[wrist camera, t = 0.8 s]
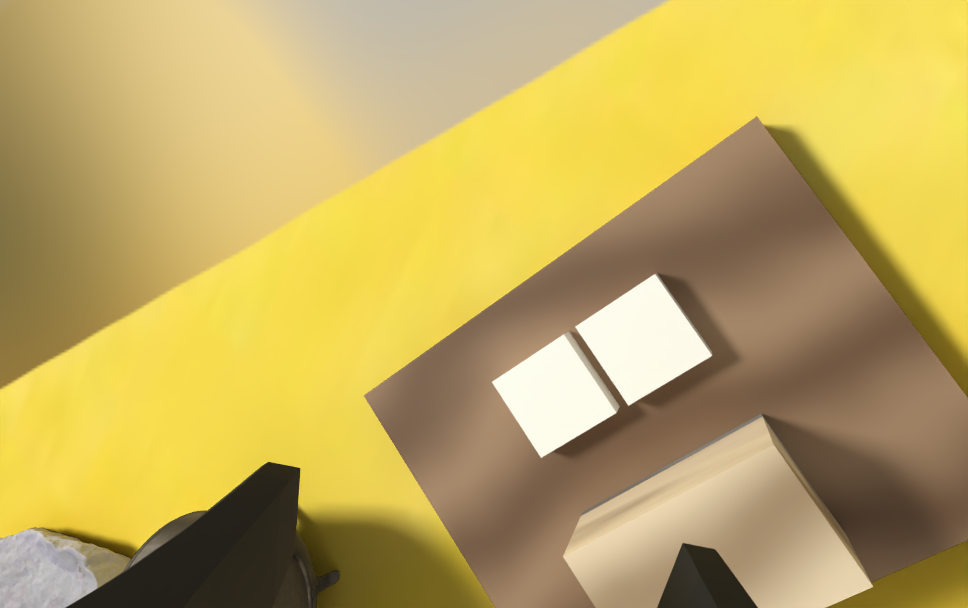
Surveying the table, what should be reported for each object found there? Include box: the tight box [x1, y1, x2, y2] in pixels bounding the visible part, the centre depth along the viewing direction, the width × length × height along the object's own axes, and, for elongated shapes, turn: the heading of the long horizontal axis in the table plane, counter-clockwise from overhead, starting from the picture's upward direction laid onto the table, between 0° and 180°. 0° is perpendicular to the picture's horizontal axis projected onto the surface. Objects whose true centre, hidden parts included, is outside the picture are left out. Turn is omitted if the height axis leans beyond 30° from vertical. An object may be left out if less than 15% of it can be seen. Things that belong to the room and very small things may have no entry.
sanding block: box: [563, 414, 873, 608], centre depth 25 cm, size 6×9×4 cm, turn 126°
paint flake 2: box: [576, 273, 712, 406], centre depth 27 cm, size 4×4×1 cm
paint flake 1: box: [492, 331, 620, 458], centre depth 28 cm, size 4×4×1 cm
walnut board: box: [364, 117, 968, 608], centre depth 29 cm, size 18×22×2 cm
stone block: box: [0, 527, 131, 608], centre depth 41 cm, size 12×5×10 cm
